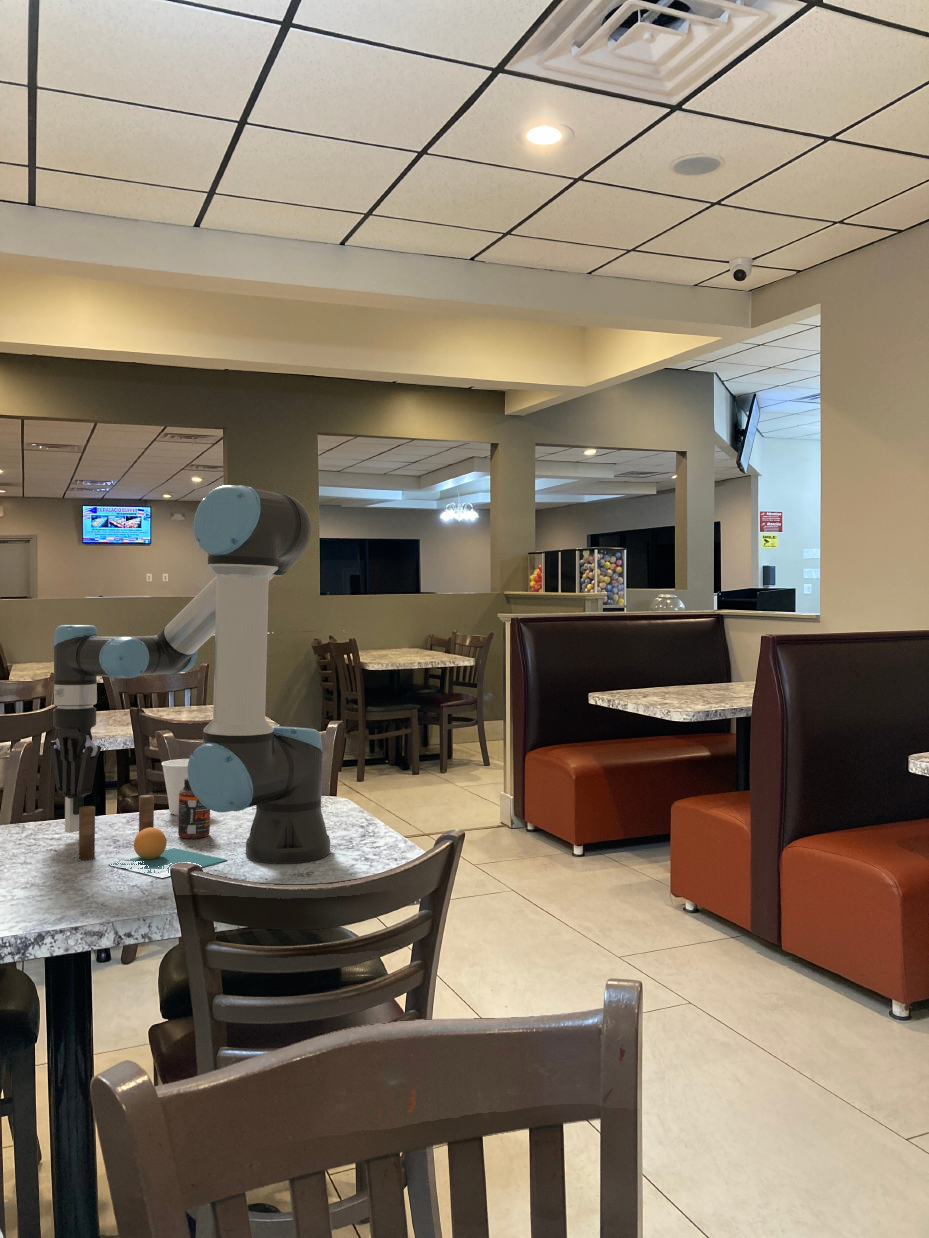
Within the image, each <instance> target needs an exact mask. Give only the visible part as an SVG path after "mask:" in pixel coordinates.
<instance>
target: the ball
mask: <svg viewBox="0 0 929 1238" xmlns="http://www.w3.org/2000/svg"><path fill="white" fill-rule="evenodd" d="M133 848H134V851H135V853H136V855H137V857H141V858H143V859H155V858H157V857H159V856H160V855H161V854H162V853H163V852H164V850H166V848H167V837H166V835H165V833H164V832H163V831H162V830H160V829H159V828H156V827H154V828H146V829H143V830H142V831H140V832H139V831H138V833H137V835H136V836H135V837H134V841H133Z"/></svg>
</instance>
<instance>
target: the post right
mask: <svg viewBox="0 0 929 1238" xmlns="http://www.w3.org/2000/svg"><path fill="white" fill-rule="evenodd" d="M138 806H139V807H138V808H139V809H138V833H139V832H140V831H142V830H143V829H146V828H155V827H154V825H155V824H154V823H155V821H154V820H155V817H154V815H155V809H154V807H155V795H153V794H144V795H140V796H139V797H138Z"/></svg>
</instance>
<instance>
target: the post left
mask: <svg viewBox="0 0 929 1238" xmlns="http://www.w3.org/2000/svg"><path fill="white" fill-rule="evenodd" d="M95 846H96V806H95V805H84V806H83V807H80V808H79V831H78V860H79V861H91V859H92V860H94V859H95V857H96V855H95V853H96V852H95V849H96V847H95Z"/></svg>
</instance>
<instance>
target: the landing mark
mask: <svg viewBox="0 0 929 1238" xmlns="http://www.w3.org/2000/svg"><path fill="white" fill-rule="evenodd" d="M129 859H130V860H129ZM129 859H125V860H123V861H133V862H134V861H135V862H136V861H142V863H141V862H140V863H139V862H138V865H139V864H140V865H146V866H145V867H144V869H150V871H149V870H148V872H147V873H152V872H151V869H162V866H163V869H164V865H168V864H170V863H172V864H175V863H178V862H191V863H196V864H199V865H201V866H202V867H203V869H204V868H206V867H207V868H208V867H210V866H215V865H217V864H221V863H225V862H227V861H228V859H225V858H221V857H217V856H212V855H207V854H202V853H198V852H194V851H189V850H184V849H181V848H177V847H176V848H175V847H173V848H169V849H165V850H164V852H163V853H162V854H161V855H160V856H159V857H157V858H155V859H143V858H141V857H140V856H137V857H132V858H129ZM143 861H144V862H143ZM118 862H119V861H117V863H118ZM117 863H116V862H113V865H114V864H115V865H118V864H119V863H118V864H117ZM143 863H144V864H143ZM110 864H111V865H112V863H109V864H108V865H110ZM120 864H121V863H120ZM133 864H134V863H133ZM133 864H132V863H131V865H133ZM172 864H170V865H169V867H170V866H171V865H172ZM121 865H126V864H125V863H124V864H123V863H122V864H121ZM127 865H128V864H127ZM129 865H130V864H129ZM134 865H135V864H134ZM136 865H137V864H136ZM147 865H148V866H149V868H148V866H147ZM158 866H159V867H158ZM169 867H168V868H167V869H168V873H169ZM124 869H126V868H124ZM124 869H123V870H124ZM130 869H132V867H131V868H130ZM138 869H139V868H138ZM140 869H143V867H142V868H140ZM144 873H145V872H144ZM154 873H155V870H154ZM158 873H159V872H158Z"/></svg>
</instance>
